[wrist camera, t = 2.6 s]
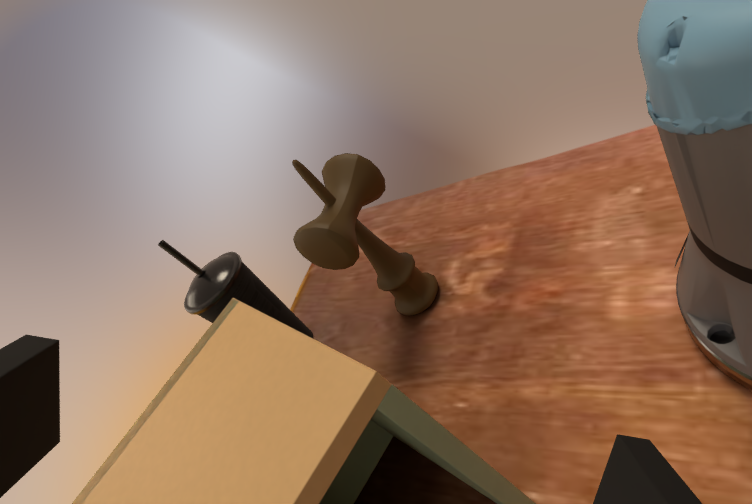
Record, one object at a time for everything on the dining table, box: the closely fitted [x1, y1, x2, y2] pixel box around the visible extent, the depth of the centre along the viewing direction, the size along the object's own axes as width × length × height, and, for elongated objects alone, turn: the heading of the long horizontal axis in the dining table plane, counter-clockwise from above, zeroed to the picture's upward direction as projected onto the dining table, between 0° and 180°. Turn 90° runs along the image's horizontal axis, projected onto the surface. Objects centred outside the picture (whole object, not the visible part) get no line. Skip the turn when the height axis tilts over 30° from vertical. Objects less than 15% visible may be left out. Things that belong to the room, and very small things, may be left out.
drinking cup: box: [158, 240, 313, 338], centre depth 51 cm, size 8×8×20 cm
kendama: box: [292, 153, 438, 315], centre depth 44 cm, size 6×10×20 cm, turn 162°
